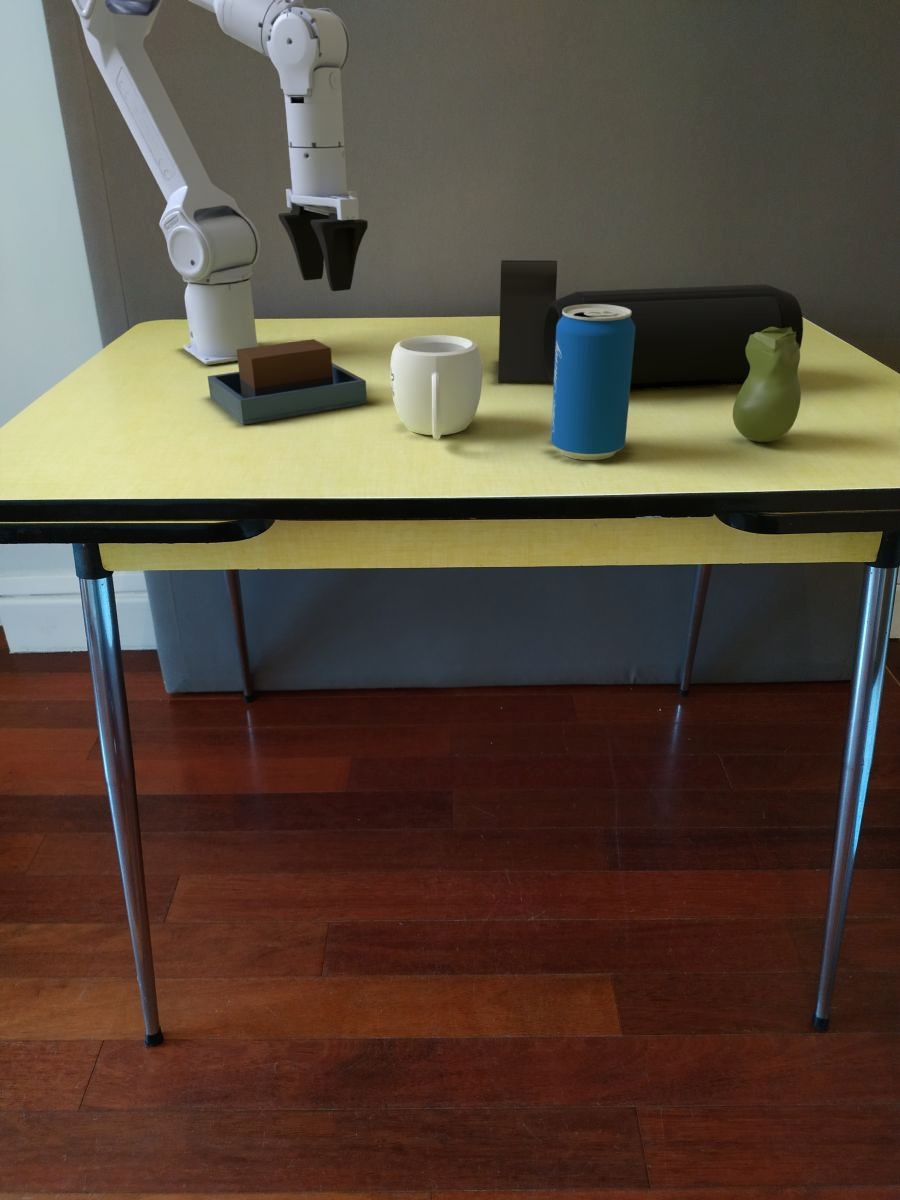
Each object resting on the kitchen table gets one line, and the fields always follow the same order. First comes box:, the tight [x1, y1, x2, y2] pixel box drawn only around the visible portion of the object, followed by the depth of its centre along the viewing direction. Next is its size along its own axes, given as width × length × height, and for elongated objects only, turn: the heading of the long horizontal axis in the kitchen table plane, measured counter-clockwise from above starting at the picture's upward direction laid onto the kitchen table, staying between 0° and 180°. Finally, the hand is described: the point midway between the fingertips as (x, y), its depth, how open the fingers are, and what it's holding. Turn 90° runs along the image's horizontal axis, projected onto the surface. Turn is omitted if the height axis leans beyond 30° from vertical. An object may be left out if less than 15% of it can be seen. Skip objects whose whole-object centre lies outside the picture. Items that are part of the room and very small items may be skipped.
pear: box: [732, 327, 802, 443], centre depth 80 cm, size 6×5×10 cm
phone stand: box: [497, 259, 558, 385], centre depth 100 cm, size 9×6×12 cm, turn 175°
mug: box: [389, 334, 483, 441], centre depth 83 cm, size 12×8×8 cm
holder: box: [207, 362, 368, 426], centre depth 93 cm, size 10×13×2 cm
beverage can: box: [550, 304, 635, 461], centre depth 77 cm, size 6×6×12 cm
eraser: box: [237, 338, 333, 398], centre depth 93 cm, size 4×8×5 cm, turn 121°
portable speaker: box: [543, 284, 804, 391], centre depth 96 cm, size 26×10×10 cm, turn 99°
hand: (326, 284), depth 100 cm, fingers open, 7 cm apart
